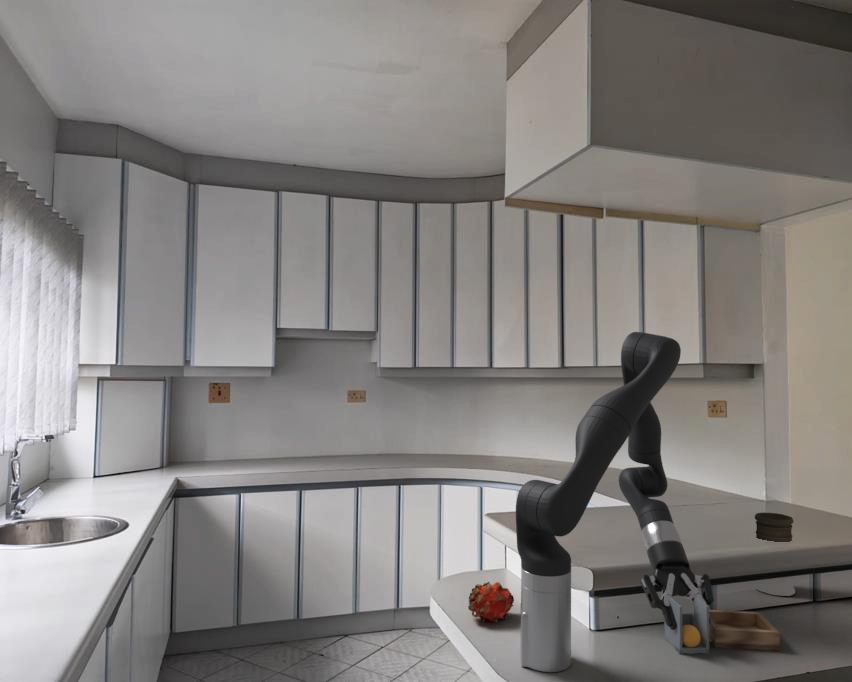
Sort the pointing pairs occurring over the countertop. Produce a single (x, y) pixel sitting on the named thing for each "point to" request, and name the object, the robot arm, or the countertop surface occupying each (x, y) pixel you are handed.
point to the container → (774, 527)
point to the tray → (742, 630)
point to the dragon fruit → (490, 601)
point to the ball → (690, 636)
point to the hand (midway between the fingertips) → (690, 627)
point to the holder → (697, 620)
